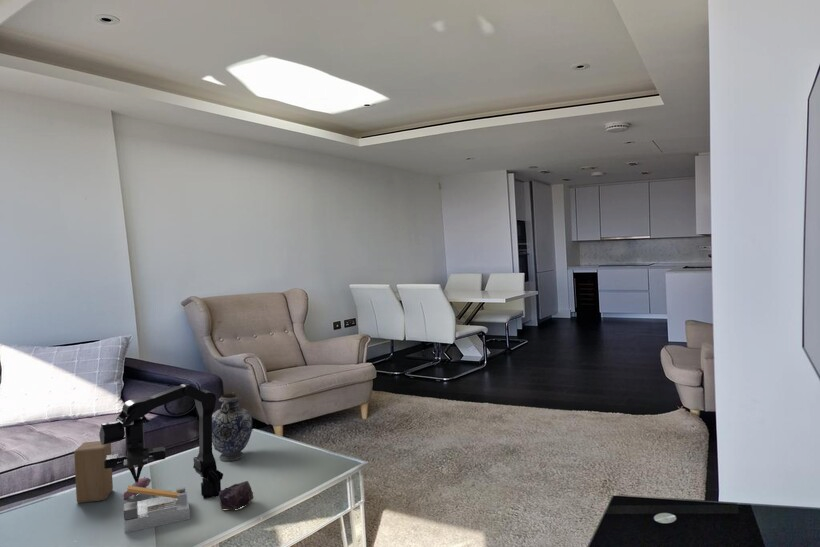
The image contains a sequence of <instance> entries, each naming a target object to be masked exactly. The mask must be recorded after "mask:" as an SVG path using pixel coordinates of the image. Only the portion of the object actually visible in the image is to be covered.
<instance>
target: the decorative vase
mask: <svg viewBox="0 0 820 547" xmlns="http://www.w3.org/2000/svg"><path fill="white" fill-rule="evenodd" d="M241 400H242V396H241V395H240V394H239V393H237V392H236V391H233V392H232V393H226V394H222V395H221V396H220V398H218V402H220V403H221V406H220V409H216V411H214V412H213V414H212V447H213V449H214V450H215V451H217V452H218V453H220V454H219V458H218V459H219V461H220V462H225V461H226V462H228V461H229V462H236V461H239V460H240V459H243V458H244V456H245V453H244V452H243V450H244V449H245V448H246V446H248V443H249V441H250V439H251V436H252V432H253V417H252V414H251V413H250V411H248V410H247V409H245V408H243V407H240V406H239V405H240V404H239V401H241ZM226 462H225V463H226ZM229 462H228V463H229Z"/></svg>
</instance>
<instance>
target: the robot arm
mask: <svg viewBox="0 0 820 547" xmlns="http://www.w3.org/2000/svg"><path fill="white" fill-rule="evenodd" d="M185 397H190V398H191V399H194V403H195V404H194V405H195V408H196V411H197V414H198V429H199V430H198V431H199V432H198V435H199V436H198V445H199V446H198V451H199V452H198V453H197V455H196V456H195V457H193V467H192V469H194V470H195V473H196V474H198V475H199V476H200V477H201V478H202V480H201V481H202V482H200V495H201V496H202V498H203V499H205V500H206V499H210V498H216V496H217V497H219V492H220V491H221V490H222V485H221V484H222V482H221V481H222V480H223V477H224V473H223V472H221V471H220V470H218V468H217V467H218V466H217V463H216V462H217V461H216V459H215V456H214V453H213V443H212V414H213V413H215V409H216V405H217V400H218V399H217V395H216V394H215V393H214V392H211V391H209V390H206V389H199V388H196V387H194V386H192V385H191V384H189V383H182V384H179V385H177V386H175V387H173V388H170V389H166V390H164V391H162V392H158V393H156V394H154V395H150V396H147V397H137V398H133V399H129V400H127V401H125V402H124V404H123V405H122V408H121V412H119V415H118V416H117V417H116V419H115V421H112V422H105V423H104V422H103V423H101V424H100V429H99V434H98V437H99V441H101V444H102V445H105V444H109V443H111V444H113V443H117V442H118V443H119V442H121V441H122V440H124V438H125V455H123V456H121V455H120V456H119V454H118V453H113V454H111V455H107V456H106V457H105V461H104V468H105V469H108V468H112V469H113V468H116V467H117V466H118V464H120V463H123V468H127V469H128V471H129V472H130V473H131V475H132V478H133V480H134V483H135V482H138V480H139V479H140V477H141V472H142V470H143V468H144V466H145V465H148V459H150V458H152V459H153V460H154V461H161V460H165V459H166V447H164V446H158V447H153V448H152V451H150V447H145V435H144V434H145V433H144V432H145V430H144V429H145V428H144V424H147V423H150V422H151V419H148V418H147V417H146V416H147V415H148V414H149V413H150V412H151V411H153V410H154V409H157V408H158V407H161V406H164V405H166V404H169V403H171V402H172V403H173V402H174V401H177V400H179V399H183V398H185ZM136 466H137V468H136Z"/></svg>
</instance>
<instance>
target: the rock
mask: <svg viewBox="0 0 820 547" xmlns="http://www.w3.org/2000/svg"><path fill="white" fill-rule="evenodd" d="M218 497H219V500H220V501H219V502H220V503H219V505H220V508H221V509H229V510H231V509H232V510H231V511H236V510H235V509H238V508H240V507H242V506H245V505H246V506H248V505H250V503H251V501H252V500H254V498H255V496H254V492H253V491H252V487H251V485H250V482H249V481H248V480H246V481H242V482H239V483H233V484H232V485H230V486H228V487H225V488H224V489H221V491H220V492H219V496H218ZM246 506H245V507H246ZM238 510H239V509H238Z"/></svg>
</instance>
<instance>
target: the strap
mask: <svg viewBox="0 0 820 547" xmlns="http://www.w3.org/2000/svg"><path fill="white" fill-rule="evenodd" d="M126 491H127V492H132V493H139V494H141V495H149V496H156V497H170V498H177V494H181V493H182V492H181V493H179V492H176V491H173V490H172V491H170V490H164V489H156V488H149V487H146V488H142V487H135V486H132V485H127V489H126Z"/></svg>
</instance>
